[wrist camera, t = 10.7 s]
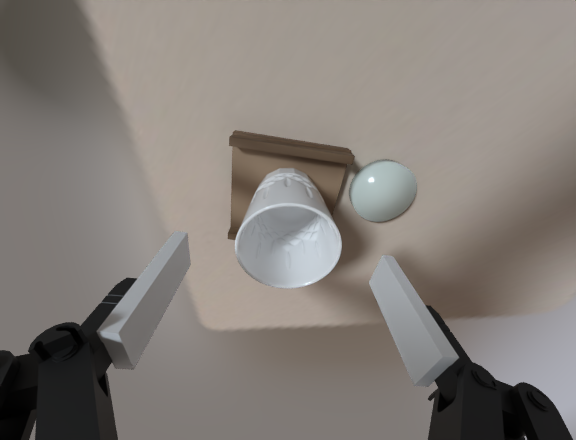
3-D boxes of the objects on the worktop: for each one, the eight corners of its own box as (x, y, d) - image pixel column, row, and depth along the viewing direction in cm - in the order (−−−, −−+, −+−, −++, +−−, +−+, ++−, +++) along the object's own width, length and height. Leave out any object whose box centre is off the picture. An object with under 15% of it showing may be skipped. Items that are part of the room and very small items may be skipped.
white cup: (304, 148, 22) (317, 183, 13) (331, 209, 25) (355, 268, 17) (238, 181, 24) (212, 232, 15) (272, 234, 27) (267, 300, 19)
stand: (235, 130, 22) (229, 134, 20) (348, 148, 23) (355, 154, 21) (232, 228, 28) (227, 240, 26) (322, 238, 29) (325, 251, 27)
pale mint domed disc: (359, 154, 24) (364, 159, 22) (418, 163, 24) (428, 169, 23) (341, 209, 27) (345, 217, 26) (393, 216, 28) (401, 225, 26)
